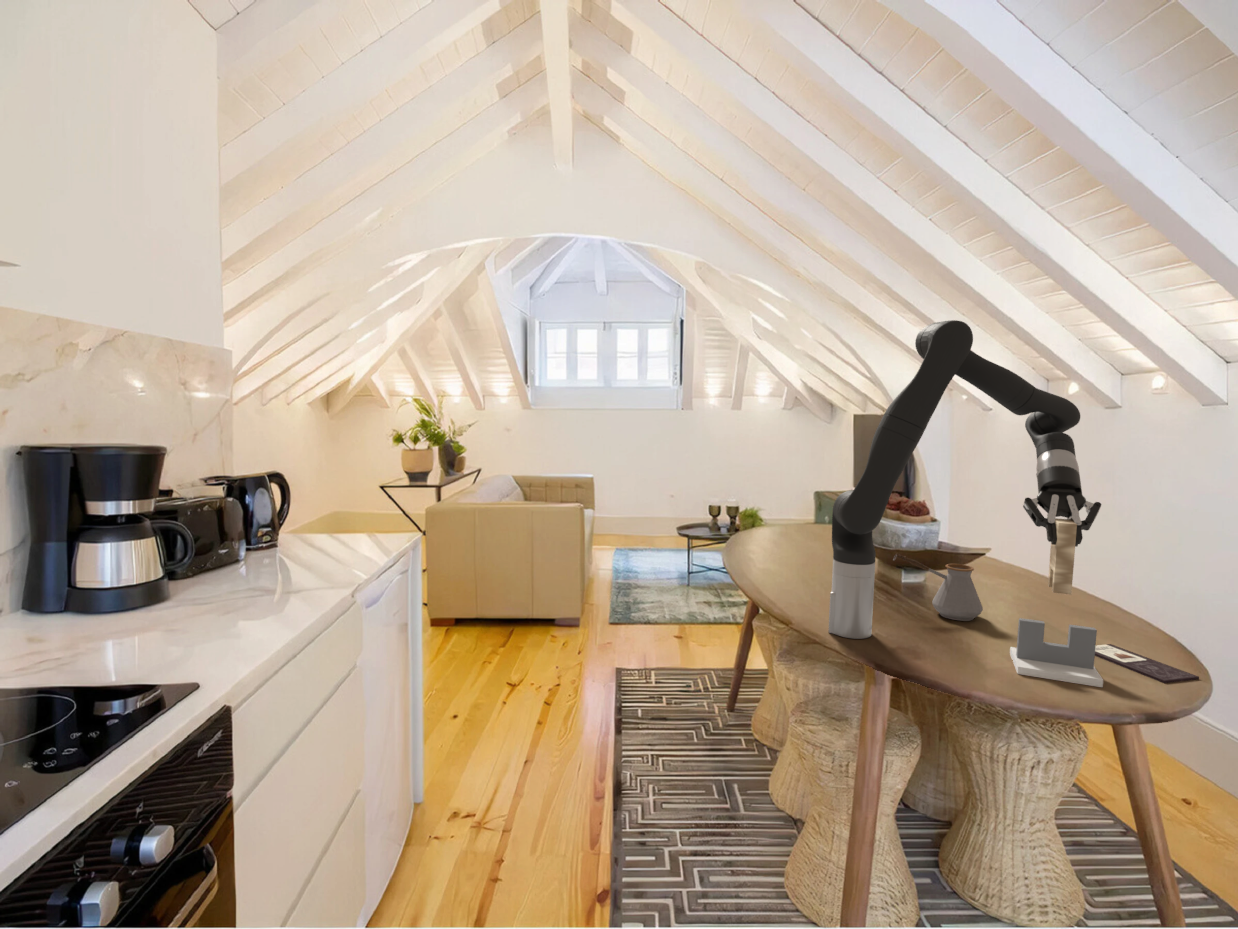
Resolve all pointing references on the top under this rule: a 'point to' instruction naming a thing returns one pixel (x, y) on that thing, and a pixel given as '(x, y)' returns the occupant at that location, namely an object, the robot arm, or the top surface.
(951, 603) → the coffee pot
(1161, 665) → the chocolate bar
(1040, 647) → the grey notched stand
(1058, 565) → the birch slotted plate
